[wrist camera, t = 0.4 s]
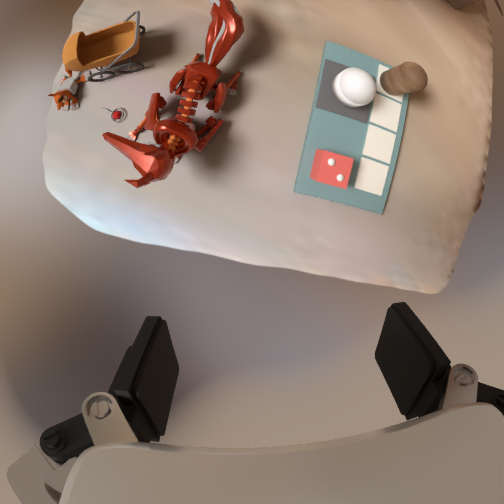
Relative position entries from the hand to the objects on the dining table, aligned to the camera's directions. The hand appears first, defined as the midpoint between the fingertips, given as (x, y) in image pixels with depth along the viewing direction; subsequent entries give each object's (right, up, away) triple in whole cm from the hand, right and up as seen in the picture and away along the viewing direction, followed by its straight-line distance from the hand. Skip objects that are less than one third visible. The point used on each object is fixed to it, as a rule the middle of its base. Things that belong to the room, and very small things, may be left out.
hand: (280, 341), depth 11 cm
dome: (+12, +25, +18) cm, 33 cm away
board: (+14, +21, +23) cm, 34 cm away
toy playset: (-15, +29, +20) cm, 38 cm away
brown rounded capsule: (+19, +28, +19) cm, 38 cm away
